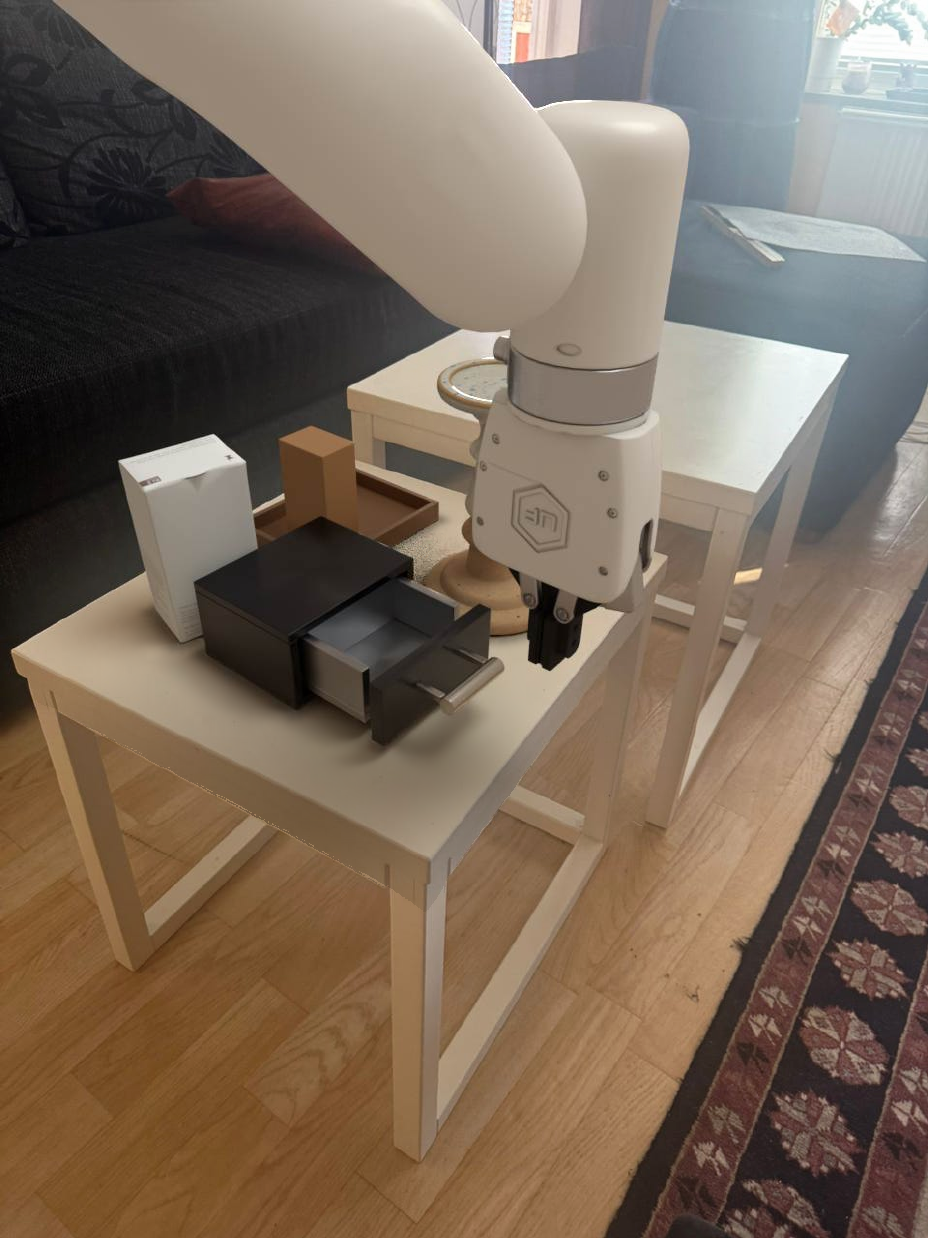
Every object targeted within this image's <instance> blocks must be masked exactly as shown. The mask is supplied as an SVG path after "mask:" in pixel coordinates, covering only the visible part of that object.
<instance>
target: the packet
mask: <svg viewBox="0 0 928 1238" xmlns="http://www.w3.org/2000/svg"><path fill="white" fill-rule="evenodd" d="M278 449H279V459H280V465H281V479H282V487H283V497H284V499H285V507H286V516H287V526H288V533H289V532H291V531H293V530H294V529H296V528H298V527H300V526H302V525H304V524H306V523H308V522H310V521H312V520H314V519H316V518H318V517H320V516H323V517H325V518H327V519H329V520H331V521H334V522H336V523H338V524H340V525H342V526H344V527H347V528H349V529H351V530H353V531H355V532H358V533H359V531H358V511H357V490H356V469H355V468H356V453H355V451H356V450H355V442H354V441H352V440H349V439H346V438H343V437H342V436H338V435H336V434H333V433H331V432H328V431H326V430H323V429H321V428H318V427H315V426H313V425H310V426H306V427H305V428H302V429H300V430H297V431H295V432H293V433H290V434H287V435H286V436H283V437H281V438H279V439H278Z"/></svg>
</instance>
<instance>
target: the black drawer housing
mask: <svg viewBox="0 0 928 1238" xmlns="http://www.w3.org/2000/svg"><path fill="white" fill-rule="evenodd" d="M414 562H415V561H414V557H412V556H410V555H408V554H406V553H403V552H401V551H399V550H397V549H395V548H394V547H392V548H390V547H388V546H386V545H384V544H382V543H379V542H377V541H375V540H373V539H371V538H369V537H366V536H364V535H362V534H360V533H358V532H355V531H353V530H351V529H349V528H347V527H344V526H342V525H340V524H338V523H336V522H334V521H331V520H329V519H327V518H325V517H323V516H320V517H318V518H316V519H314V520H312V521H310V522H308V523H306V524H304V525H302V526H300V527H298V528H296V529H294V530H293V531H291V532H289V533H287V534H285V535H283V536H281V537H279V538H277V539H275V540H273V541H271V542H269V543H267V544H266V545H264V546H262V547H260V548H258V549H256V550H254V551H252V552H250V553H248V554H246V555H244V556H242V557H240V558H238V559H237V560H235V561H233V562H231V563H229V564H227V565H225V566H223V567H221V568H219V569H217V570H215V571H213V572H211V573H210V574H208V575H206V576H204V577H202V578H200V579H198V580H196V581H194V588H195V594H196V599H197V604H198V610H199V615H200V621H201V626H202V631H203V635H202V636H203V641H204V646H205V654H206V655H207V656H208V657H210V658H212V659H214V660H215V661H216V662H218V663H220V664H222V665H223V666H225V667H227V668H228V669H230V670H232V671H233V672H234V673H236V674H238V675H239V676H241V677H242V678H244V679H245V680H248V681H249V682H251V683H252V684H254V685H256V686H257V687H259V688H261V689H262V690H264V691H265V692H267V693H269V694H270V695H272V696H273V697H274V698H277V699H278V700H279V701H282V702H283V703H285V704H286V705H288V706H289V707H291V708H293V709H294V710H296V711H298V710H299V709H301V708H303V707H304V706H305V705H307V704H308V703H309V702H311V701H312V700H314V699H315V698H316V697H318V696H319V695H317V694H315V693H314V692H312V691H310V690H309V689H307V688H305V687H304V686H302V679H301V669H300V660H299V650H298V641H297V639H298V638H300V637H301V636H303V635H304V634H306V633H308V632H309V631H311V630H312V629H314V628H316V627H317V626H319V625H320V624H322V623H324V622H325V621H327V620H328V619H330V618H331V617H333V616H335V615H336V614H338V613H339V612H341V611H343V610H344V609H346V608H347V607H349V606H351V605H352V604H354V603H355V602H357V601H358V600H360V599H362V598H363V597H365V596H366V595H368V594H370V593H371V592H373V591H374V590H376V589H378V588H379V587H381V586H382V585H384V584H385V583H387V582H389V581H390V580H392V579H393V578H395V577H397V576H398V575H402V576H404V577H406V578H408V579H410V580H412V581H414V579H415V577H414V575H415V574H414V572H415V570H414V565H415V564H414ZM414 582H415V581H414Z"/></svg>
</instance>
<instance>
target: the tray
mask: <svg viewBox="0 0 928 1238" xmlns="http://www.w3.org/2000/svg"><path fill="white" fill-rule="evenodd" d="M355 469H356V490H357V511H358V531H359V533H360V534H362V535H364V536H366V537H369V538H371V539H373V540H375V541H377V542H379V543H382V544H384V545H386V546H388V547H390V548H394V547H395V546H397V545H399V544H400V543H402V542H404V541H405V540H407V539H409V538H411V537H412V536H413V535H415V534H417V533H419V532H420V531H422V530H424V529H425V528H427V527H429V526H431V525H432V524H434V523H436V522H437V521H439V519H440V518H439V517H440V502H439V501H438V500H435V499H433V498H431V497H428V496H426V495H423V494H421V493H418V492H416V491H414V490H411V489H409V488H406V487H403V486H401V485H399V484H396V483H393V482H391V481H389V480H386V479H384V478H381V477H379V476H376V475H374V474H372V473H369V472H368V471H367V472H366V471H364V470H362V469H359V468H356V467H355ZM253 518H254V525H255V532H256V539H257V546H258V548H260V547H262V546H264V545H266V544H267V543H269V542H271V541H273V540H275V539H277V538H279V537H281V536H283V535H285V534H287V533H288V526H287V516H286V507H285V498H284V499H281V500H279V501H277V502H275V503H273V504H270V505H269V506H266V507H265V508H263V509H261V510H258V511H257V512H255V513H254V512H253Z"/></svg>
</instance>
